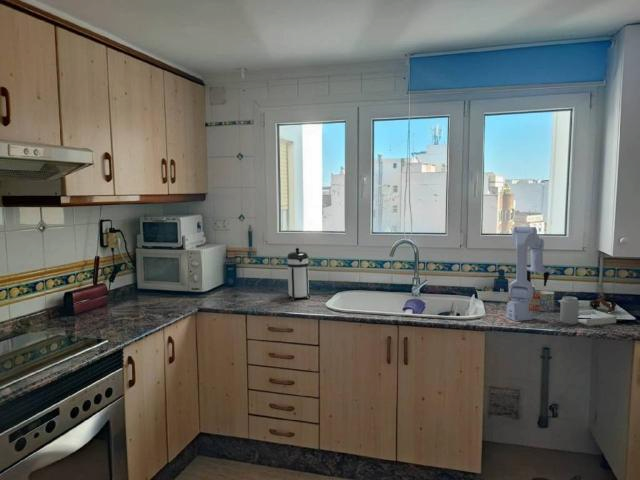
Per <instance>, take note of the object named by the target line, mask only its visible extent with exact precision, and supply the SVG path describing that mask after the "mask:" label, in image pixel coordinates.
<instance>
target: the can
mask: <svg viewBox="0 0 640 480" xmlns="http://www.w3.org/2000/svg"><path fill="white" fill-rule="evenodd" d="M559 309H560V311H559V316H560V317H559V321H560V322H561V323H562V324H564V325H570V326H573V325H577V324H579V322H578V316H579V311H580V301H579V300H578V298H577V297H575V296H568V295H567V296H566V295H565V296H562V299H560V308H559Z"/></svg>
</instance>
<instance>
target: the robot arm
mask: <svg viewBox="0 0 640 480" xmlns="http://www.w3.org/2000/svg"><path fill="white" fill-rule="evenodd" d="M511 236H512V237H511V238H512V244H513V245H515V247H516V255H515V256H516V261H515V262H516V264H515V265H516V266H515V267H516V269H515V270H516V273H515V279H514V280H513V281H511V282H510V283H511V284H510V283H509V284H510V289H509V288H508V291H509V296H510V298H512V301H509V302H508V301H507V303H506V315H505V317H506V318H507V319H509V320H512V321H514V322H520V321H529V320H530V321H531V320H534V319H533V317H530V310H529V301H530V300H532V298H533V285H534V284H532V282H531V274H532V273H541V274H542V273H543V287H547V282H548V280H549V277H550V275H551V274H553V268H548V267H544V248H545V240H544V239H543V238H540V236H539V234H538V229H537V228H536V226H533V227H532V226H514V227H513V229H512V235H511ZM528 247H529V248H528ZM528 249H529V250H530V266H528Z"/></svg>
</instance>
